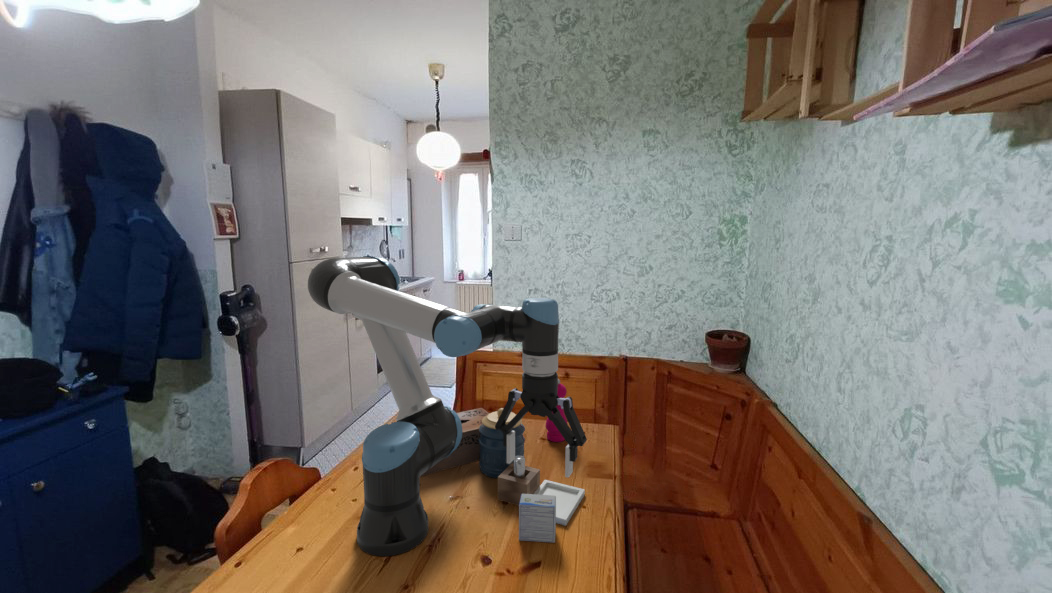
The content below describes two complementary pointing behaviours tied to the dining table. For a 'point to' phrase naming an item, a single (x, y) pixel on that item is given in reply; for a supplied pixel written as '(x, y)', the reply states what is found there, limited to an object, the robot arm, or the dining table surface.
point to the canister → (497, 444)
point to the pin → (519, 467)
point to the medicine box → (537, 518)
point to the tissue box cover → (464, 442)
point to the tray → (562, 499)
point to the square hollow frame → (517, 484)
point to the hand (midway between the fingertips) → (539, 467)
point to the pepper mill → (553, 432)
